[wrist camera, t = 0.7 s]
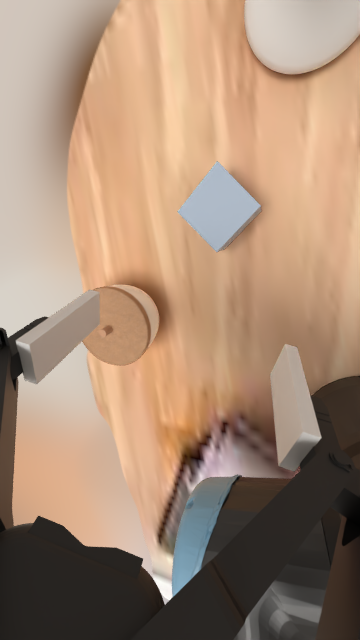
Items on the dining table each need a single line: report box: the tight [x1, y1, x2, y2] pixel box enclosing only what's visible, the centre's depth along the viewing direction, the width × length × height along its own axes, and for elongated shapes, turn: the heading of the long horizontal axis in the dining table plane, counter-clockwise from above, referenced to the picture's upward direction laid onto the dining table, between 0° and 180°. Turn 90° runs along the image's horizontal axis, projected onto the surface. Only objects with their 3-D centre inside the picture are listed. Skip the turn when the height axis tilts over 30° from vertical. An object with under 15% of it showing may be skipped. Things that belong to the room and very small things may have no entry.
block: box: [178, 161, 261, 252], centre depth 28 cm, size 6×6×6 cm
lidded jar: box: [82, 284, 159, 366], centre depth 35 cm, size 11×11×9 cm
